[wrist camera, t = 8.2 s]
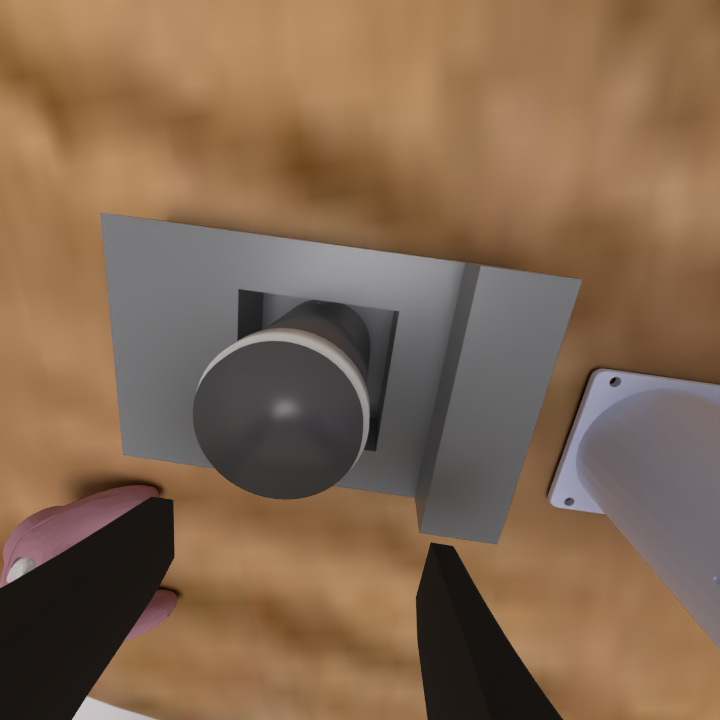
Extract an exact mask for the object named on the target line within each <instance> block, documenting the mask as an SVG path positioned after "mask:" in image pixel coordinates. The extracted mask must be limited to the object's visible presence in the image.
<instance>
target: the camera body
mask: <svg viewBox="0 0 720 720" xmlns="http://www.w3.org/2000/svg"><path fill="white" fill-rule="evenodd" d="M101 224H102V235H103V245H104V256H105V267H106V277H107V288H108V299H109V309H110V320H111V331H112V342H113V352H114V363H115V374H116V384H117V395H118V406H119V417H120V427H121V438H122V449H123V455H125V456H132V457H139V458H146V459H153V460H159V461H166V462H173V463H180V464H187V465H194V466H201V467H208V468H214V467H213V466H212V465H211V463H210V462H209V461H208V459H207V458H206V456H205V455H204V453H203V451H202V449H201V448H200V445H199V443H198V441H197V438H196V434H195V431H194V425H193V404H194V398H195V395H196V391H197V387H198V384H199V381H200V379H201V377H202V375H203V373H204V371H205V370H206V368H207V367H208V366H209V364H210V363H211V362H212V361H213V360H214V359H215V358H216V357H217V356H218V355H219V354H220V353H221V352H223V351H224V350H225V349H227V348H228V347H229V346H231V345H233V344H234V343H236V342H237V341H239V340H240V339H242V338H244V337H246V336H248V335H250V334H253V333H255V332H258V331H262V330H264V329H265V328H267V327H268V326H270V325H271V324H272V323H274V322H275V321H277V320H278V319H279V318H281V317H282V316H284V315H285V314H286V313H288V312H289V311H291V310H292V309H293V308H295V307H296V306H298V305H300V304H301V303H304V302H306V301H309V300H313V299H314V300H321V301H329V302H336V303H343V304H345V305H347V306H348V307H350V308H351V309H353V310H354V311H355V312H356V313H357V314H358V315H359V316H360V317H361V319H362V320H363V322H364V324H365V325H366V327H367V330H368V333H369V337H370V358H369V369H368V381H367V391H368V395H369V403H370V417H369V432H368V437H367V441H366V444H365V447H364V450H363V452H362V454H361V456H360V457H359V459H358V461H357V462H356V463H355V465H354V466H353V467H352V468H351V469H350V470H349V471H348V472H347V474H346V475H345V476H344V477H343V478H342V479H341V480H340V481H338V482H337V483H336V484H334V485H333V486H338V487H345V488H352V489H359V490H366V491H373V492H379V493H386V494H393V495H400V496H407V497H414V498H415V503H416V510H417V518H418V525H419V532H420V533H423V534H430V535H437V536H444V537H451V538H457V539H464V540H471V541H478V542H485V543H491V544H498V541H499V538H500V535H501V532H502V528H503V525H504V522H505V519H506V516H507V513H508V510H509V507H510V504H511V500H512V497H513V494H514V491H515V488H516V485H517V482H518V479H519V475H520V472H521V469H522V466H523V463H524V460H525V457H526V454H527V451H528V447H529V444H530V441H531V438H532V435H533V432H534V429H535V426H536V422H537V419H538V416H539V413H540V410H541V407H542V404H543V401H544V397H545V394H546V391H547V388H548V385H549V382H550V379H551V376H552V373H553V369H554V366H555V363H556V360H557V357H558V354H559V351H560V348H561V344H562V341H563V338H564V335H565V332H566V329H567V326H568V323H569V320H570V316H571V313H572V310H573V307H574V304H575V301H576V298H577V295H578V291H579V288H580V285H581V282H582V280H581V279H575V278H569V277H563V276H557V275H551V274H544V273H538V272H532V271H526V270H520V269H514V268H507V267H500V266H492V265H485V264H478V263H470V262H463V261H456V260H448V259H441V258H434V257H426V256H419V255H412V254H405V253H397V252H390V251H383V250H375V249H368V248H361V247H353V246H346V245H339V244H331V243H324V242H317V241H310V240H302V239H295V238H288V237H280V236H273V235H266V234H258V233H251V232H244V231H236V230H229V229H222V228H215V227H207V226H200V225H193V224H185V223H178V222H171V221H163V220H155V219H147V218H138V217H130V216H122V215H114V214H105V213H101ZM214 469H215V468H214Z"/></svg>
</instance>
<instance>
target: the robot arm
mask: <svg viewBox="0 0 720 720" xmlns="http://www.w3.org/2000/svg"><path fill="white" fill-rule="evenodd" d="M614 377H616V380H615V382H614V383H612V384H610V380H611V379H612V378H614ZM567 498H570V499H569V500H567V501H565V500H566V499H567ZM548 500H549V502H550V503H551V504H552V505H553V506H554V507H558V508H565V509H572V510H579V511H585V512H592V513H599V514H606V515H607V517H608V518H609V519H610V520H611V521H612V523H613V524H614V525H615V526H616V527H617V529H618V530H619V531H620V532H621V533H622V534H623V536H624V537H625V538H626V539H627V540H628V542H629V543H630V544H631V545H632V546H633V548H634V549H635V550H636V551H637V552H638V553H639V555H640V556H641V557H642V558H643V559H644V561H645V562H646V563H647V564H648V565H649V567H650V568H651V569H652V570H653V571H654V572H655V574H656V575H657V576H658V577H659V578H660V580H661V581H662V582H663V583H664V584H665V586H666V587H667V588H668V589H669V590H670V591H671V593H672V594H673V595H674V596H675V597H676V599H677V600H678V601H679V602H680V603H681V605H682V606H683V607H684V608H685V609H686V610H687V612H688V613H689V614H690V615H691V616H692V618H693V619H694V620H695V621H696V622H697V624H698V625H699V626H700V627H701V628H702V629H703V631H704V632H705V633H706V634H707V635H708V637H709V638H710V639H711V640H712V641H713V643H714V644H715V645H716V646H717V647H718V648H719V650H720V385H718V384H711V383H704V382H697V381H690V380H683V379H675V378H668V377H661V376H654V375H647V374H640V373H633V372H625V371H618V370H611V369H598V370H596V371H594V372H593V373H592V375H591V376H590V379H589V382H588V385H587V387H586V390H585V393H584V396H583V399H582V401H581V404H580V407H579V410H578V413H577V415H576V418H575V421H574V424H573V426H572V429H571V432H570V435H569V438H568V440H567V443H566V446H565V449H564V452H563V454H562V457H561V460H560V463H559V466H558V468H557V471H556V474H555V477H554V480H553V482H552V485H551V488H550V491H549V494H548ZM173 559H174V513H173V500H170V499H164V498H158V497H150V498H148V499H147V500H145V501H143V502H142V503H140V504H139V505H137V506H135V507H134V508H132V509H131V510H129V511H127V512H126V513H124V514H123V515H121V516H120V517H118V518H117V519H115V520H113V521H112V522H110V523H109V524H107V525H106V526H104V527H102V528H101V529H99V530H98V531H96V532H94V533H93V534H91V535H90V536H88V537H86V538H85V539H83V540H81V541H80V542H78V543H77V544H75V545H73V546H72V547H70V548H69V549H67V550H65V551H64V552H62V553H60V554H59V555H57V556H55V557H54V558H52V559H50V560H48V561H47V562H45V563H43V564H41V565H40V566H38V567H36V568H34V569H33V570H31V571H29V572H28V573H26V574H24V575H22V576H21V577H19V578H17V579H15V580H14V581H12V582H10V583H9V584H7V585H5V586H3V587H1V588H0V720H72V718H73V717H74V715H75V713H76V712H77V710H78V709H79V707H80V706H81V704H82V703H83V701H84V699H85V698H86V696H87V695H88V693H89V692H90V690H91V689H92V687H93V686H94V685H95V683H96V682H97V680H98V679H99V677H100V676H101V674H102V673H103V671H104V670H105V668H106V667H107V665H108V664H109V662H110V661H111V659H112V658H113V656H114V655H115V653H116V652H117V650H118V649H119V647H120V646H121V644H122V643H123V642H124V640H125V639H126V637H127V636H128V634H129V633H130V631H131V630H132V628H133V627H134V625H135V624H136V622H137V621H138V619H139V618H140V616H141V615H142V613H143V612H144V610H145V609H146V607H147V606H148V604H149V603H150V601H151V599H152V598H153V596H154V594H155V593H156V591H157V589H158V587H159V585H160V584H161V582H162V580H163V578H164V576H165V574H166V572H167V570H168V568H169V566H170V565H171V563H172V561H173ZM416 612H417V639H418V649H419V657H420V664H421V672H422V680H423V687H424V695H425V702H426V710H427V717H428V720H563V719H562V717H561V716H560V715H559V713H558V712H557V711H556V709H555V708H554V707H553V705H552V704H551V703H550V701H549V700H548V698H547V697H546V696H545V694H544V693H543V691H542V690H541V688H540V687H539V686H538V684H537V683H536V681H535V680H534V678H533V677H532V675H531V674H530V672H529V671H528V669H527V668H526V666H525V665H524V664H523V662H522V661H521V659H520V658H519V656H518V655H517V653H516V651H515V650H514V648H513V647H512V645H511V644H510V642H509V641H508V639H507V637H506V636H505V634H504V633H503V631H502V629H501V628H500V626H499V625H498V623H497V621H496V620H495V618H494V616H493V615H492V613H491V612H490V610H489V608H488V607H487V605H486V603H485V601H484V600H483V598H482V596H481V595H480V593H479V591H478V589H477V588H476V586H475V584H474V582H473V581H472V579H471V577H470V575H469V573H468V572H467V570H466V568H465V566H464V564H463V563H462V561H461V559H460V557H459V555H458V553H457V552H456V550H455V548H454V547H453V546H449V545H443V544H437V543H431V544H430V548H429V551H428V555H427V559H426V562H425V566H424V570H423V573H422V577H421V581H420V585H419V588H418V592H417V596H416Z"/></svg>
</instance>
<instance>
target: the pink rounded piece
mask: <svg viewBox="0 0 720 720" xmlns="http://www.w3.org/2000/svg"><path fill="white" fill-rule="evenodd" d="M158 496H159V493H158V491H157V489H156V488H154V487H151V486H145V485H132V486H124V487H118V488H113V489H110V490H106V491H103V492H99V493H96V494H93V495H91V496H88V497H85V498H83V499H80V500H78V501H75V502H72V503H70V504H67V505H65V506H54V507H50V508H46V509H44V510H41V511H39V512H37V513H35V514H33V515H31V516H29V517H28V518H26V519H25V520H24V521H23V522H21V523H20V524H19V525H18V526H17V527H16V528H15V529H14V531H13V532H12V533H11V535H10V536H9V538H8V540H7V542H6V544H5V547H4V551H3V558H4V568H3V572H2V576H1V582H0V588H1V587H3V586H5V585H7V584H9V583H10V582H12V581H14V580H15V579H17V578H19V577H21V576H22V575H24V574H26V573H28V572H29V571H31V570H33V569H34V568H36V567H38V566H40V565H41V564H43V563H45V562H47V561H48V560H50V559H52V558H54V557H55V556H57V555H59V554H60V553H62V552H64V551H65V550H67V549H69V548H70V547H72V546H73V545H75V544H77V543H78V542H80V541H81V540H83V539H85V538H86V537H88V536H90V535H91V534H93V533H94V532H96V531H98V530H99V529H101V528H102V527H104V526H106V525H107V524H109V523H110V522H112V521H113V520H115V519H117V518H118V517H120V516H121V515H123V514H124V513H126V512H127V511H129V510H131V509H132V508H134V507H135V506H137V505H139V504H140V503H142V502H143V501H145V500H147V499H148V498H150V497H158ZM176 604H177V596H176V595H175V593H174V592H172V591H169V590H157V591H156V593H155V594H154V596H153V598H152V599H151V601H150V603H149V604H148V606H147V607H146V609H145V610H144V612H143V613H142V615H141V616H140V618H139V619H138V621H137V622H136V624H135V625H134V627H133V628H132V630H131V631H130V633H129V634H128V636H127V637H126V639H125V640H124V642H126V641H128V640H130V639H133V638H135V637H137V636H140V635H142V634H144V633H146V632H148V631H149V630H151V629H153V628H155V627H157V626H158V625H159V624H160V623H162V622H163V621H164V620H165V619H167V618H168V617H169V615H170V614H171V613H172V611H173V610H174V608H175V606H176ZM124 642H123V643H124Z"/></svg>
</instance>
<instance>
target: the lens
mask: <svg viewBox="0 0 720 720" xmlns="http://www.w3.org/2000/svg"><path fill="white" fill-rule="evenodd" d="M369 358H370V337H369V333H368V330H367V327H366V325H365V324H364V322H363V320H362V319H361V317H360V316H359V315H358V314H357V313H356V312H355V311H354V310H353V309H351V308H350V307H348V306H347V305H345V304H343V303H336V302H329V301H321V300H314V299H313V300H309V301H306V302H304V303H301V304H300V305H298V306H296V307H295V308H293V309H292V310H291V311H289V312H288V313H286V314H285V315H284V316H282V317H281V318H279V319H278V320H277V321H275V322H274V323H272V324H271V325H270V326H268V327H267V328H265V329H264V330H262V331H258V332H255V333H253V334H250V335H248V336H246V337H244V338H242V339H240V340H239V341H237V342H236V343H234V344H233V345H231V346H229V347H228V348H227V349H225V350H224V351H223V352H221V353H220V354H219V355H218V356H217V357H216V358H215V359H214V360H213V361H212V362H211V363H210V364H209V366H208V367H207V368H206V370H205V371H204V373H203V375H202V377H201V379H200V381H199V384H198V387H197V391H196V395H195V398H194V404H193V425H194V431H195V434H196V438H197V441H198V443H199V445H200V448H201V449H202V451H203V453H204V455H205V456H206V458H207V459H208V461H209V462H210V463H211V465H212V466H213V467H214V468H215V469H216V470H217V471H218V472H219V473H220V474H221V475H222V476H224V477H225V478H226V479H227V480H229V481H230V482H232V483H233V484H235V485H236V486H238V487H240V488H242V489H244V490H246V491H248V492H251V493H253V494H256V495H260V496H263V497H268V498H274V499H298V498H304V497H308V496H312V495H315V494H318V493H320V492H322V491H325V490H326V489H328V488H330V487H332V486H333V485H334V484H336V483H337V482H338V481H340V480H341V479H342V478H343V477H344V476H345V475H346V474H347V472H348V471H349V470H350V469H351V468H352V467H353V466H354V465H355V463H356V462H357V461H358V459H359V457H360V456H361V454H362V452H363V450H364V447H365V444H366V441H367V437H368V432H369V417H370V403H369V395H368V391H367V381H368V369H369Z"/></svg>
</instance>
